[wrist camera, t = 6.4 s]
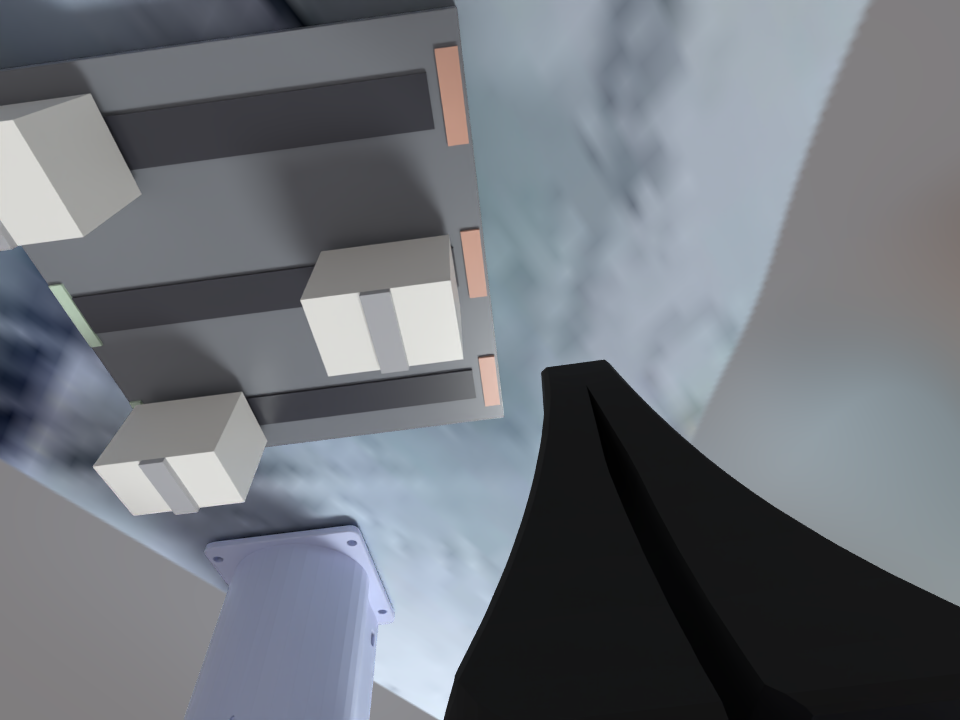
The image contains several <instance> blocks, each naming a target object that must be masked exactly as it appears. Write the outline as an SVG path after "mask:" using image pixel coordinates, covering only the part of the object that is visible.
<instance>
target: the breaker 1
mask: <svg viewBox="0 0 960 720" xmlns="http://www.w3.org/2000/svg"><path fill="white" fill-rule="evenodd" d="M140 195H141V192H140V190H139V188H138V186H137V184H136V182H135V180H134V178H133V176H132V174H131V172H130V170H129V168H128V166H127V164H126V162H125V160H124V158H123V156H122V154H121V152H120V150H119V148H118V146H117V145H116V143H115V141H114V139H113V137H112V135H111V133H110V131H109V129H108V127H107V125H106V123H105V121H104V119H103V117H102V115H101V113H100V111H99V109H98V107H97V105H96V103H95V101H94V99H93V97H92V95H91V93H90V94H83V95H75V96H68V97H61V98H54V99H46V100H39V101H32V102H25V103H17V104H10V105H3V106H0V251H3V250H11V249H14V248H15V247H17V246H20V245H27V244H35V243H42V242H50V241H57V240H65V239H72V238H80V237H84V236H86V235H87V234H88V233H90V232H91V231H92V230H94V229H95V228H97V227H98V226H99V225H101V224H102V223H103V222H105V221H106V220H107V219H109V218H110V217H111V216H113V215H114V214H116V213H117V212H118V211H120V210H121V209H122V208H124V207H125V206H126V205H128V204H129V203H130V202H132V201H133V200H135V199H136V198H137V197H139V196H140Z"/></svg>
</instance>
